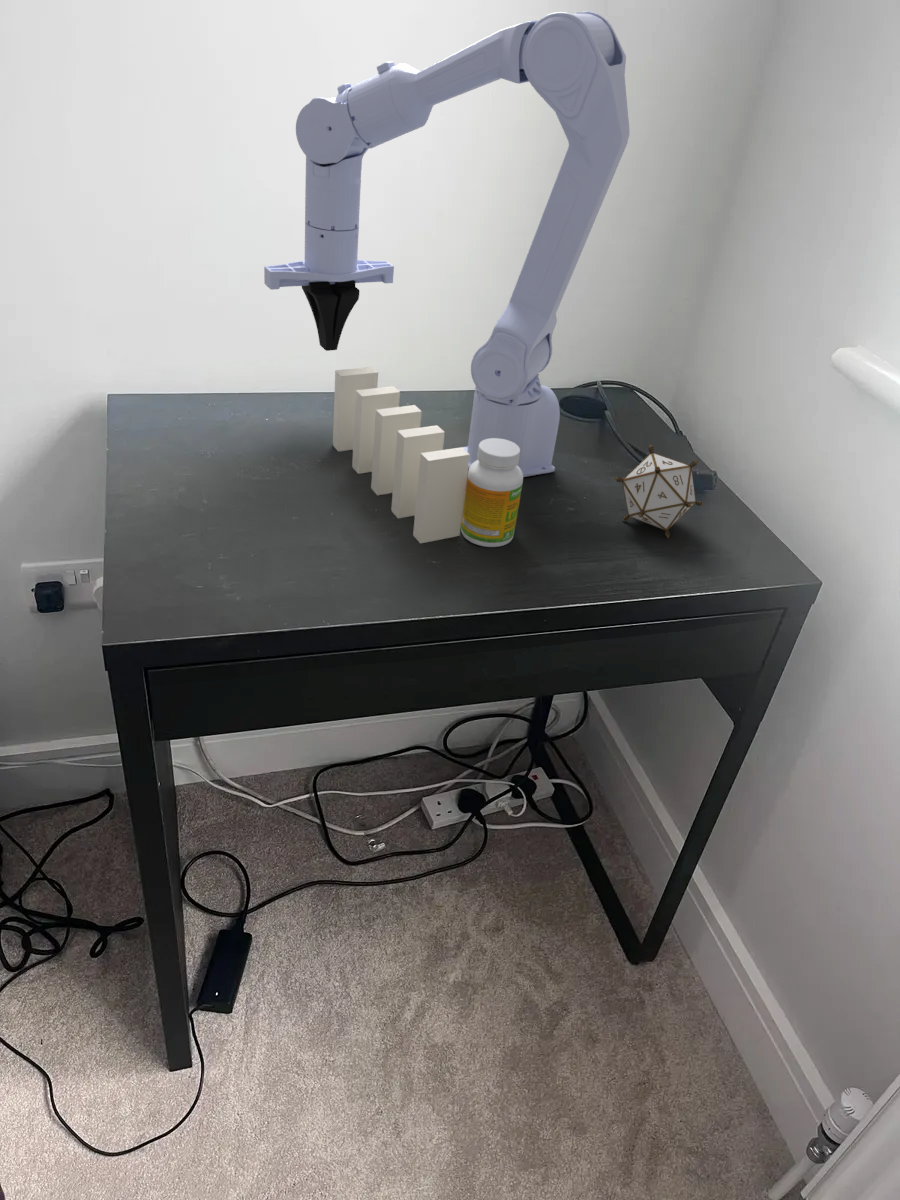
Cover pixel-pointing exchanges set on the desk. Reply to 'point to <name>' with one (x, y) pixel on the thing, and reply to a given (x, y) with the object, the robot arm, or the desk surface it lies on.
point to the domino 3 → (389, 443)
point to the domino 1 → (349, 402)
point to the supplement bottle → (492, 494)
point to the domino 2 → (369, 423)
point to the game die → (659, 491)
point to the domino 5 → (440, 494)
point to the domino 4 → (411, 465)
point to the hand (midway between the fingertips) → (328, 347)
